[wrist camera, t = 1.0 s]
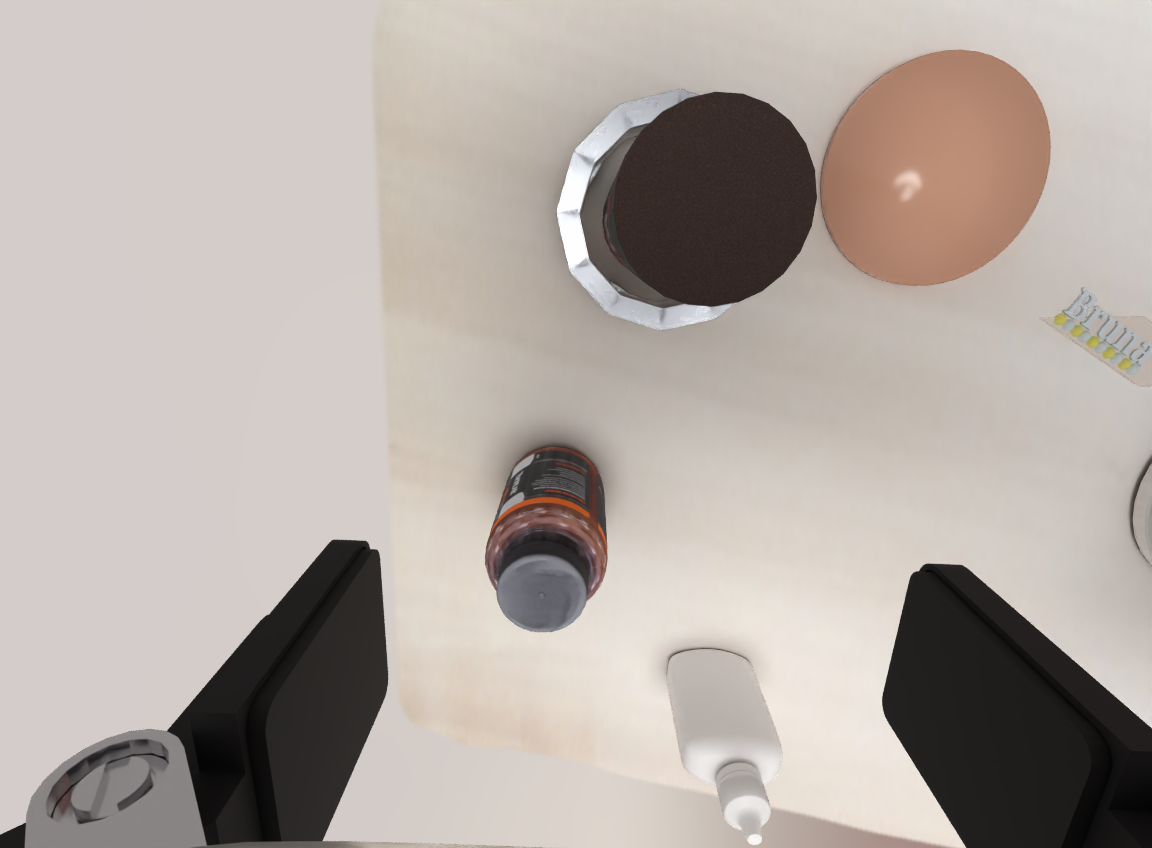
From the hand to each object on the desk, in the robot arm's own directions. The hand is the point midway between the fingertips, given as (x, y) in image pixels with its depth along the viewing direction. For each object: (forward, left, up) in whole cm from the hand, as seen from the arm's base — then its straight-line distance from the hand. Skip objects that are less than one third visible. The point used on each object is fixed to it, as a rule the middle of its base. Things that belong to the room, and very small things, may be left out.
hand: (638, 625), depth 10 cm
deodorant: (-4, -7, -25) cm, 26 cm away
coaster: (-18, -6, -25) cm, 31 cm away
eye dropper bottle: (-2, +22, -25) cm, 34 cm away
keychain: (-27, +4, -25) cm, 37 cm away
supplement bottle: (+5, +7, -25) cm, 26 cm away
